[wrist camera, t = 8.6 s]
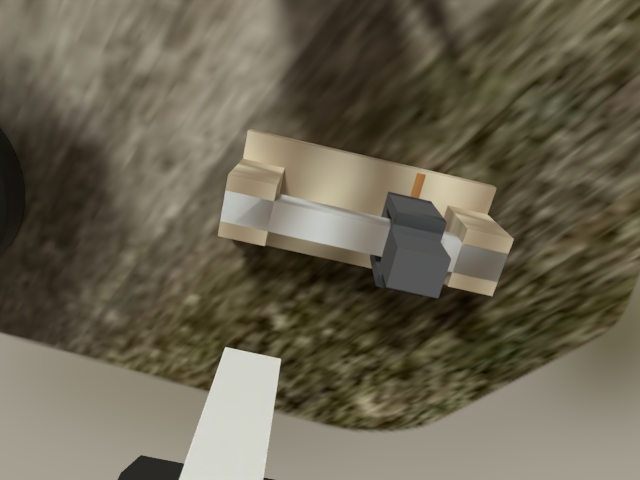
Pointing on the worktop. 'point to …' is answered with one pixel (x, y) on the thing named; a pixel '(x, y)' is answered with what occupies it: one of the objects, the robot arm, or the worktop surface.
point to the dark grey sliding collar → (412, 248)
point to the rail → (355, 207)
